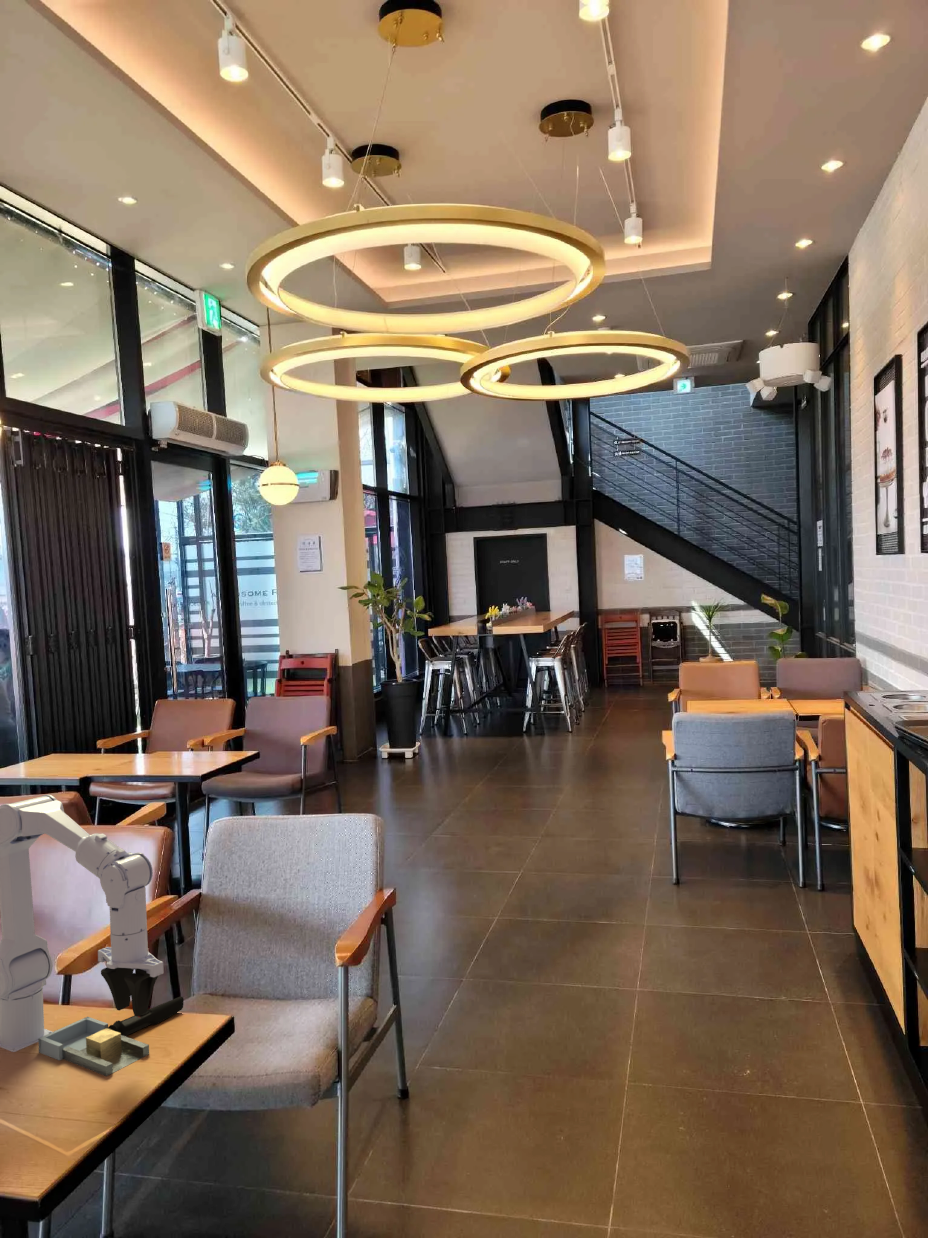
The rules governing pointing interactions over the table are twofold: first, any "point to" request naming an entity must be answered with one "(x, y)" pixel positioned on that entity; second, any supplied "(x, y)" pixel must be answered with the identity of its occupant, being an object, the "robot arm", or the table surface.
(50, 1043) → the tray
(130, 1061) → the slot bed
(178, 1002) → the electric trimmer
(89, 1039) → the yellow cube
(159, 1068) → the table surface
